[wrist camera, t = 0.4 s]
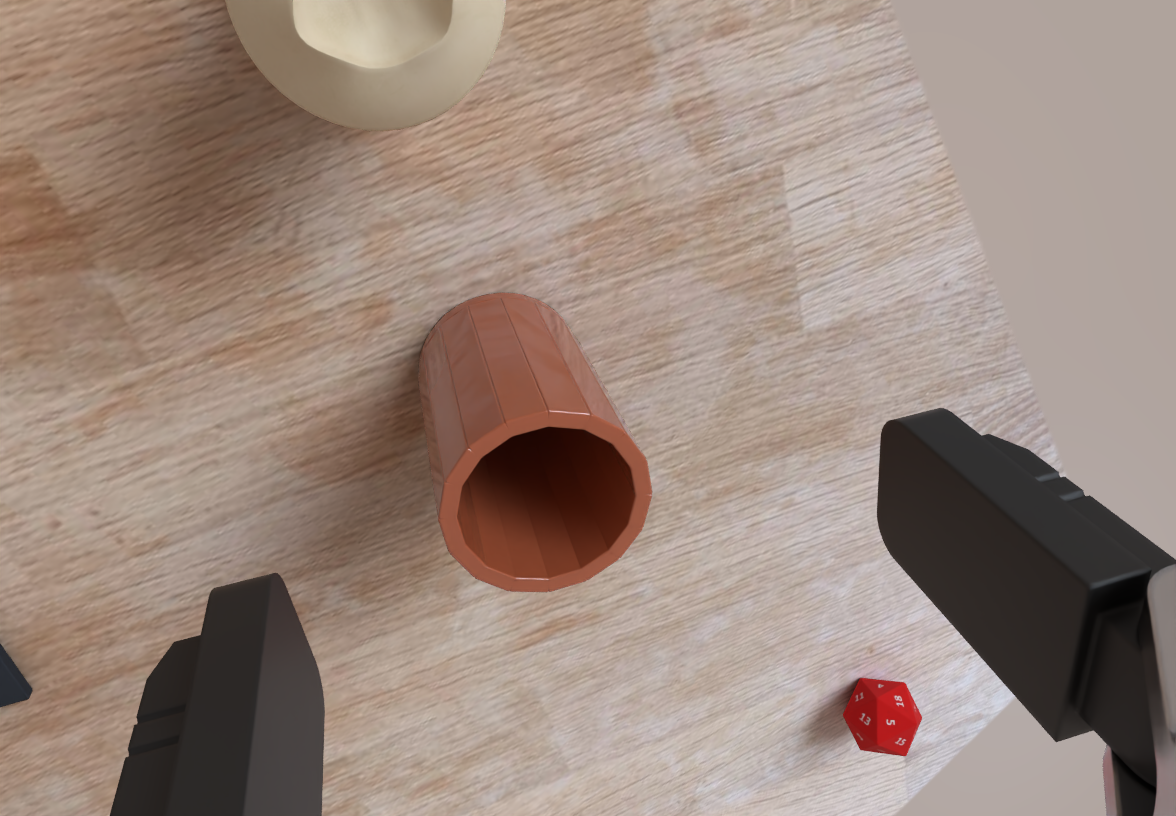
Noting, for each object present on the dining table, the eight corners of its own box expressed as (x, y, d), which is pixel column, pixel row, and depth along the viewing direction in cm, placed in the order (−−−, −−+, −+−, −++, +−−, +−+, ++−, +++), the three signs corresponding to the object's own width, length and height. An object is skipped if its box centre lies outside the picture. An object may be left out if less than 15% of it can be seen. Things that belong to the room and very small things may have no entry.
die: (832, 693, 42) (878, 774, 40) (895, 660, 42) (944, 740, 40) (827, 695, 45) (869, 770, 44) (885, 664, 45) (930, 738, 44)
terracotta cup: (398, 315, 29) (413, 446, 22) (562, 274, 30) (635, 386, 22) (442, 456, 32) (469, 616, 24) (591, 415, 33) (663, 558, 25)
